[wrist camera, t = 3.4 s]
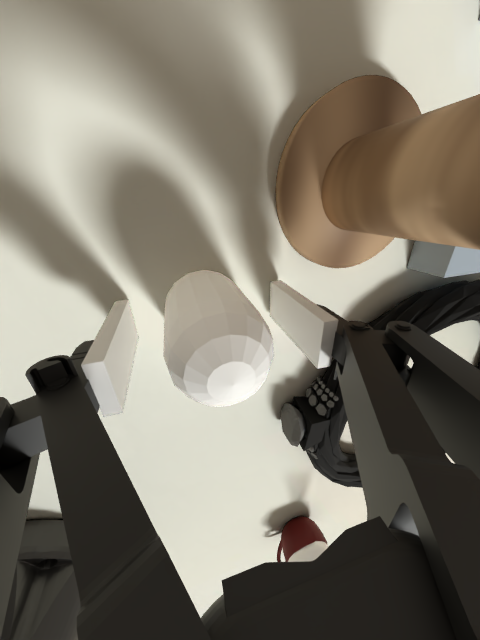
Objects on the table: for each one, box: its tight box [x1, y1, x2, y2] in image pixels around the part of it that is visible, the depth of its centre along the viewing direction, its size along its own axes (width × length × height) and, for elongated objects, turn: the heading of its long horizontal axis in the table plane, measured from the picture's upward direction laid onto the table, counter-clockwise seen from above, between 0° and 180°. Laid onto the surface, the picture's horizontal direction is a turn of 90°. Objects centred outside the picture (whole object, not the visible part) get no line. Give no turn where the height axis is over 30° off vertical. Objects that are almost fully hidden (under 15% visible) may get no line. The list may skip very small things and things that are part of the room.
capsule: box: [163, 270, 274, 407], centre depth 13 cm, size 5×5×8 cm
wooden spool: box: [276, 75, 480, 268], centre depth 10 cm, size 10×10×12 cm
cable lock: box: [280, 280, 480, 488], centre depth 26 cm, size 28×4×30 cm
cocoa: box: [277, 516, 328, 562], centre depth 30 cm, size 10×6×12 cm, turn 104°
